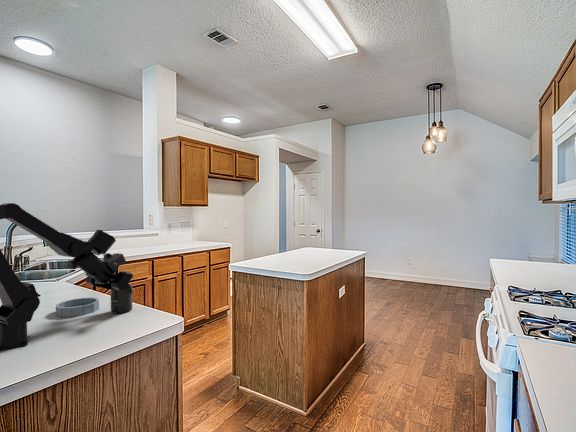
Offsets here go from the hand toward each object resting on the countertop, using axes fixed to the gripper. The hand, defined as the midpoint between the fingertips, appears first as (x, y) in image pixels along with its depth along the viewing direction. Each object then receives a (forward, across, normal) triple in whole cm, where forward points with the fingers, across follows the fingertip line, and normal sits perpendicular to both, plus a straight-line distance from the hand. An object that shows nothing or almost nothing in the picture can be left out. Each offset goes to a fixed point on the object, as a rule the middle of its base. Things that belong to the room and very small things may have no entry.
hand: (125, 291), depth 112 cm
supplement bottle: (+4, 0, +6) cm, 7 cm away
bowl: (-1, +14, +11) cm, 18 cm away
